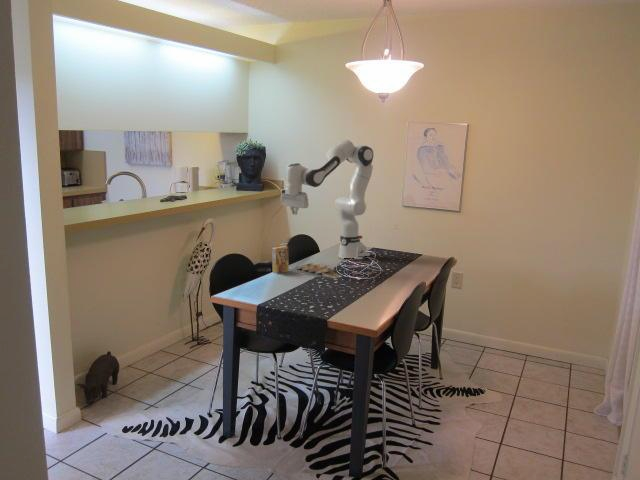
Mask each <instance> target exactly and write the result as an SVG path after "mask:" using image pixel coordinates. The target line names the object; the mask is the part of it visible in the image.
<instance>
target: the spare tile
mask: <svg viewBox="0 0 640 480" xmlns="http://www.w3.org/2000/svg"><path fill="white" fill-rule="evenodd" d="M326 268H328V267H327V265H322V266H321V265H320V267H317V268H313V269H309V270H308V271H309V272H313V271H318V270H323V269H326Z"/></svg>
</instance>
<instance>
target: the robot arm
mask: <svg viewBox="0 0 640 480" xmlns="http://www.w3.org/2000/svg"><path fill="white" fill-rule="evenodd" d="M325 158H326V159H325V160H326V162H325V163H324V164H323V165H321V166H320V167H319V168H314V169H312V168H311V169H310V168H307V167H305V166H303V165H302V164H301V163H297V162H296V163H292V164H289V165H288V166H287V170H286V180H287V181H286V182H287V184H286V188H284V189H281V190H280V205H281V206H283V207H289V208H290V211H291V215H298V211H299V209H308V207H309V197H308V194H307V193H306V192H305V191H303V189H302V188H303V186H304V185H305V186H310V187H311V188H317V187H320V186H321V185H322V184H323V183H324V181H325V179H326V178H327V177H328V176H329V175H330V174H332V172H334V171H335V170H336V169H337V168H338V167H339V166H340V165H341V164H343V162H345V161H347V162H349V163H351V164H352V163H353V164H355V169H354V171H353V174H352V177H351V179H350V181H349V184H348V188H349V190H350V192H349V196H346V195H344V196H343V195H342V196H339V197H337V198H336V199H335V201H334V207H335V209H336V211H337V213H338V216H339V221H340V237H339V241H340V243H339V249H338V252H337V257H338V258H340V259H342V260H345V259H344V258H354V259H353V260H363V259H364V258H362V257H358V256H367V257H370V256H371V253H369V252H367V245H365V244H364V243H363V242H362V241H361V240H362V239H363V235H359V222H358V221H357V219H356V217H357V216H361V215H364V214H365V212H366V211H367V204H366V202H365V197H366V196H365V195H366V191H367V188H368V185H369V182H370V181H371V177H372V173H373V170H374V169H373V168H374V166H373V164H372V163H373V159H374V149H372V147H370V146H367V145H361V144H359V145H354V143H353V142H352V141H351V140H348V139H345V140H341V141H340V142H339V143H336V144H335V145H334V146H332V147H331V148H329V150H327V151H326V155H325ZM302 185H303V186H302ZM355 257H356V258H355Z"/></svg>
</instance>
